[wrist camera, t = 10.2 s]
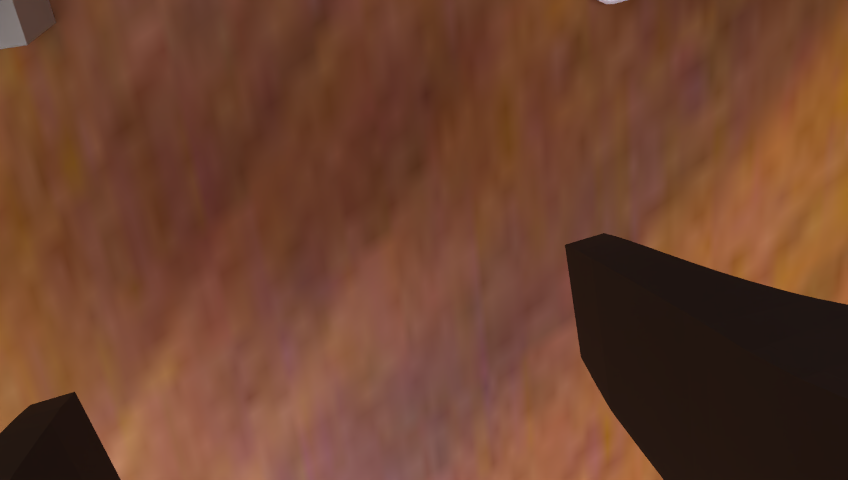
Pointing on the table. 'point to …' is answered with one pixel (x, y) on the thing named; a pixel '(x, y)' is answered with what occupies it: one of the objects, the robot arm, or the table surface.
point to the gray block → (23, 21)
